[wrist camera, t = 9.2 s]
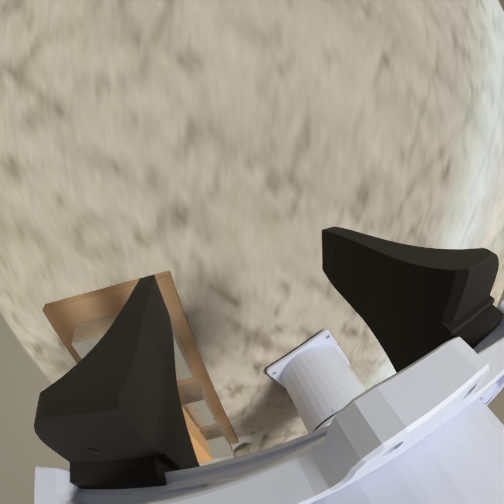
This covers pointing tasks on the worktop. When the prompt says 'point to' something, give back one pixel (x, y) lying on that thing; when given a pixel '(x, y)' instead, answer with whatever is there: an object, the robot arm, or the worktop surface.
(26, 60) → the worktop surface
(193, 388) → the rail
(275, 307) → the worktop surface
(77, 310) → the rail base
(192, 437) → the tan rectangular plank
